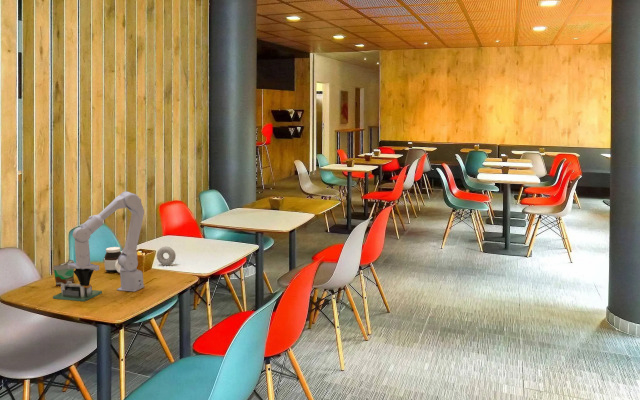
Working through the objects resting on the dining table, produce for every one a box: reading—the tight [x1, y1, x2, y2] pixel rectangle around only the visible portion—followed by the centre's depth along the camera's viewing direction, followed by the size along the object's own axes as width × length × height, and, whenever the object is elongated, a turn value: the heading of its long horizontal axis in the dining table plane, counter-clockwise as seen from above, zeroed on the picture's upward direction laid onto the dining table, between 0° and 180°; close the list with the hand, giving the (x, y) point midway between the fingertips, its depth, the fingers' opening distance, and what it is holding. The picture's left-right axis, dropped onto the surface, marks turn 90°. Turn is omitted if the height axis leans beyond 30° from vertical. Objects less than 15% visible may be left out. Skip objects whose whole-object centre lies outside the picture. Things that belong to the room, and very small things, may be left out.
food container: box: [52, 259, 75, 287], centre depth 280 cm, size 12×6×10 cm, turn 168°
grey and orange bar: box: [66, 283, 92, 288], centre depth 261 cm, size 12×2×1 cm, turn 74°
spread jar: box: [103, 246, 122, 274], centre depth 300 cm, size 12×11×12 cm
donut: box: [156, 246, 176, 266], centre depth 311 cm, size 10×3×10 cm, turn 86°
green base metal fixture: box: [52, 281, 103, 302], centre depth 262 cm, size 16×12×6 cm
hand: (84, 285), depth 260 cm, fingers closed on grey and orange bar, 2 cm apart
